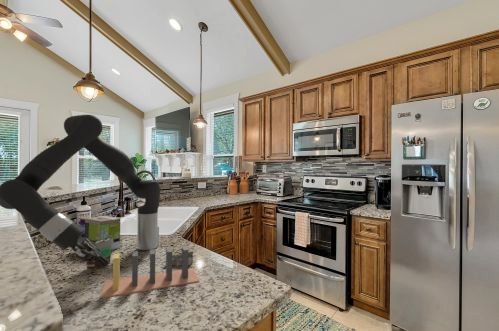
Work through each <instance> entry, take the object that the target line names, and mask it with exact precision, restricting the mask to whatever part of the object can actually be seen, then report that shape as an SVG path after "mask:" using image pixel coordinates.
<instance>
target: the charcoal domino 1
mask: <svg viewBox="0 0 499 331" xmlns="http://www.w3.org/2000/svg"><path fill="white" fill-rule="evenodd" d="M138 256H139V251H138V250H136V251H132V257H131V258H132V260H131V277H132V287H136V286H137V284H138V276H139V271H138V270H139V269H138V268H139V257H138Z"/></svg>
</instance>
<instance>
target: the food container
mask: <svg viewBox="0 0 499 331" xmlns="http://www.w3.org/2000/svg"><path fill="white" fill-rule="evenodd" d="M94 243H95V244H96V246H97V247H98V248H99V249H100V253H101V255H102V256H104V257H105V258H106V259H107V260H109V264H111V257H112V256H111V255H112V250H111V248H112V244H113V243H114V241H113V239H112V237H110V236H107V238H106V239H104V240H99V241H96V242H94ZM99 268H102V267H101V266H100V265H99V264H97V263H96V262H95V261H94V262H93V261H92V262H91V263H90V262H87V261H86V269H88V270H89V269H90V270H91V269H93V270H94V269H99Z"/></svg>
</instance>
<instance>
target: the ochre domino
mask: <svg viewBox="0 0 499 331" xmlns="http://www.w3.org/2000/svg"><path fill="white" fill-rule="evenodd" d="M112 264H113V265H112V280H113V290H117V289H119V284H120V279H121V275H120V274H121V253H120V252H119V253H114V254H113V257H112Z"/></svg>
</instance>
